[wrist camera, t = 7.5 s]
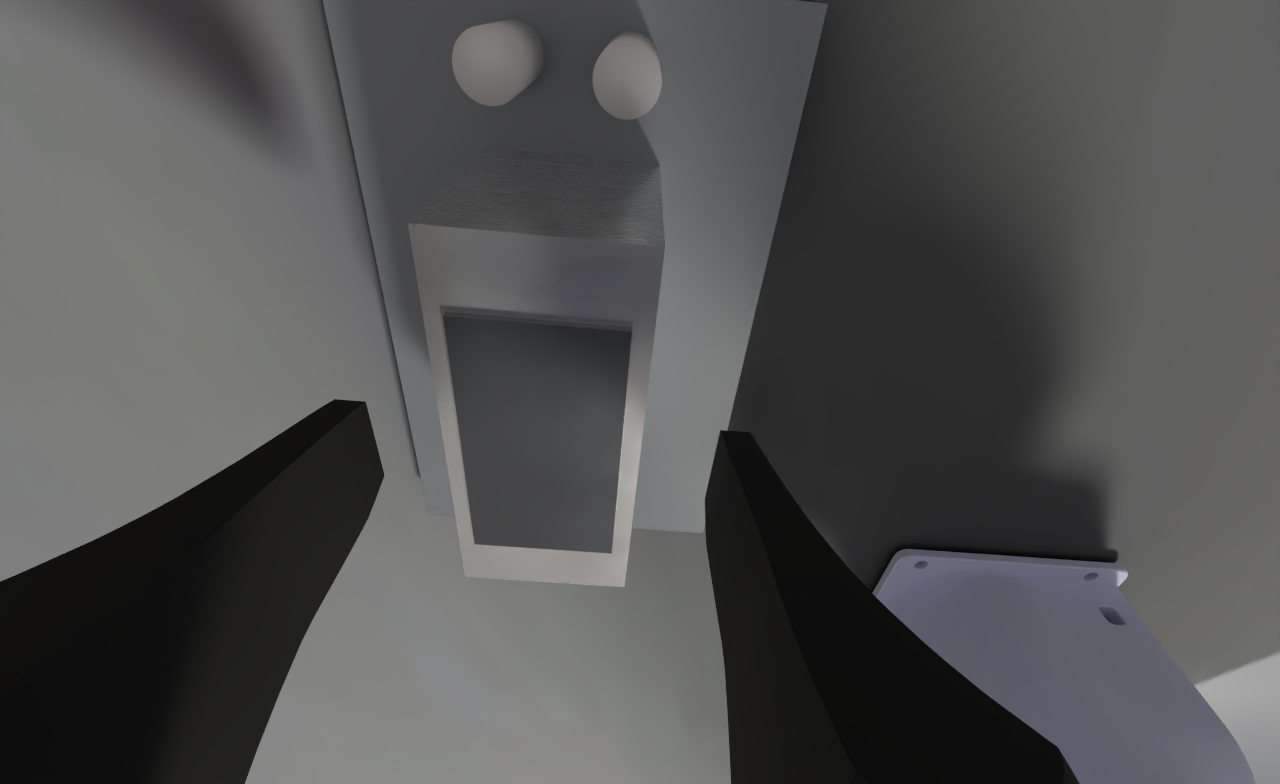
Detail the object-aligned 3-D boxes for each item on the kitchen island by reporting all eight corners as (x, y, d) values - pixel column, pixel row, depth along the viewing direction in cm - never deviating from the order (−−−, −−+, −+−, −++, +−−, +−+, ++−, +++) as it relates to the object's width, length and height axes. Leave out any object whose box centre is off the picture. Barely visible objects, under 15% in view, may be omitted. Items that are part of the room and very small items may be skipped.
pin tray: (815, 2, 12) (868, 6, 9) (700, 512, 21) (709, 592, 18) (335, -50, 11) (230, -63, 8) (436, 493, 21) (403, 573, 18)
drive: (659, 164, 13) (665, 250, 9) (630, 453, 18) (624, 592, 14) (485, 148, 13) (404, 226, 8) (506, 443, 18) (463, 582, 14)
